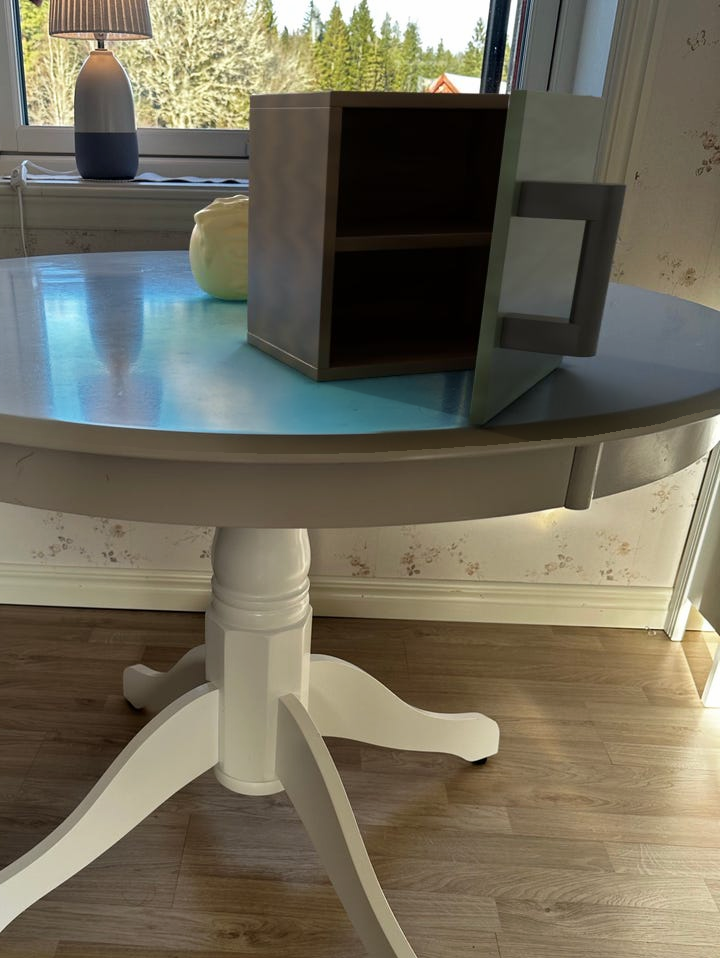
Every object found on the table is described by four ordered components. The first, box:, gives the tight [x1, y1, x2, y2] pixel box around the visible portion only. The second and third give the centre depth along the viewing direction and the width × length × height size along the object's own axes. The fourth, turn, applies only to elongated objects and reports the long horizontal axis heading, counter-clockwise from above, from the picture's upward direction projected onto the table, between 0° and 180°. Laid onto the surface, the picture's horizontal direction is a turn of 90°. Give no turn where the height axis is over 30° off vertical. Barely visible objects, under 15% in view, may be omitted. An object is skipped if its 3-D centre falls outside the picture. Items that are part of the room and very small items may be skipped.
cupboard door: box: [468, 89, 628, 426], centre depth 67 cm, size 7×22×20 cm, turn 150°
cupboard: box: [246, 89, 589, 383], centre depth 81 cm, size 16×22×20 cm
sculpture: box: [188, 194, 249, 301], centre depth 109 cm, size 11×12×11 cm
